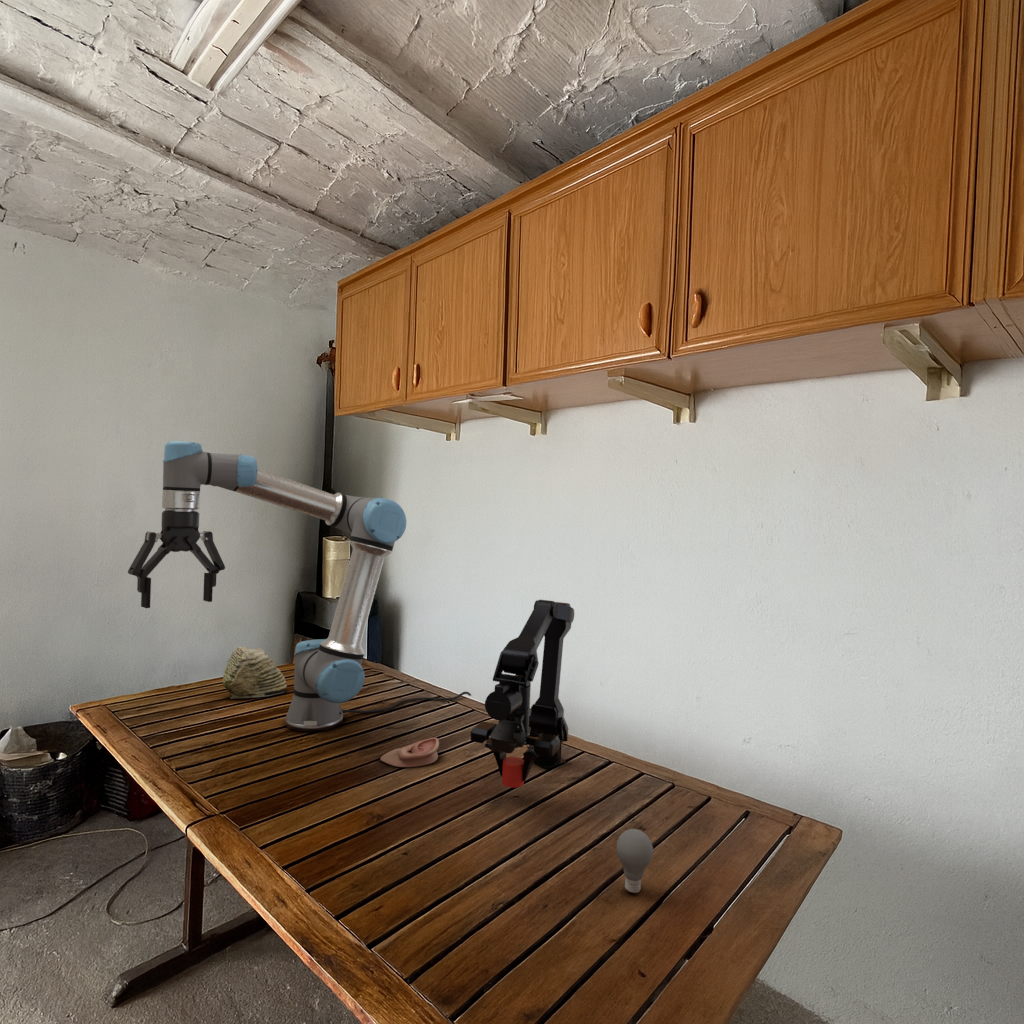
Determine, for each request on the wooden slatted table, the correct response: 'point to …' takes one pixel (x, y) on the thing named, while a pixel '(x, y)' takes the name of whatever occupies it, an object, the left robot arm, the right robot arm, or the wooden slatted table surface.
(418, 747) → the anatomical model
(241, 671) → the fossil
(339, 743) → the wooden slatted table surface
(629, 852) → the light bulb
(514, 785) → the canister
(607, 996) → the wooden slatted table surface
